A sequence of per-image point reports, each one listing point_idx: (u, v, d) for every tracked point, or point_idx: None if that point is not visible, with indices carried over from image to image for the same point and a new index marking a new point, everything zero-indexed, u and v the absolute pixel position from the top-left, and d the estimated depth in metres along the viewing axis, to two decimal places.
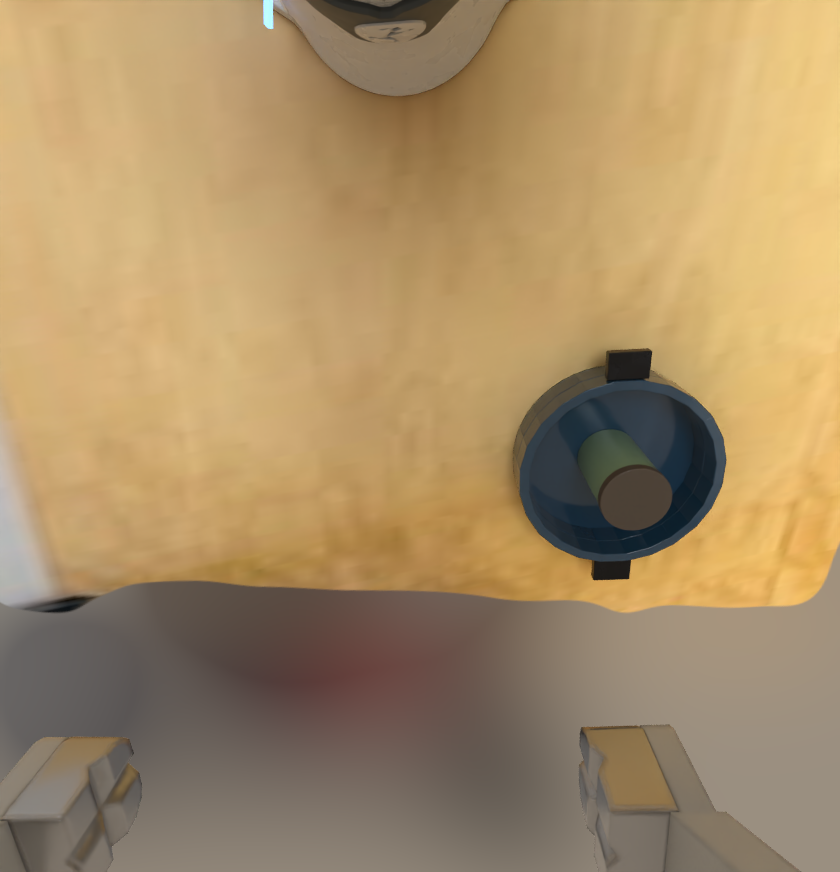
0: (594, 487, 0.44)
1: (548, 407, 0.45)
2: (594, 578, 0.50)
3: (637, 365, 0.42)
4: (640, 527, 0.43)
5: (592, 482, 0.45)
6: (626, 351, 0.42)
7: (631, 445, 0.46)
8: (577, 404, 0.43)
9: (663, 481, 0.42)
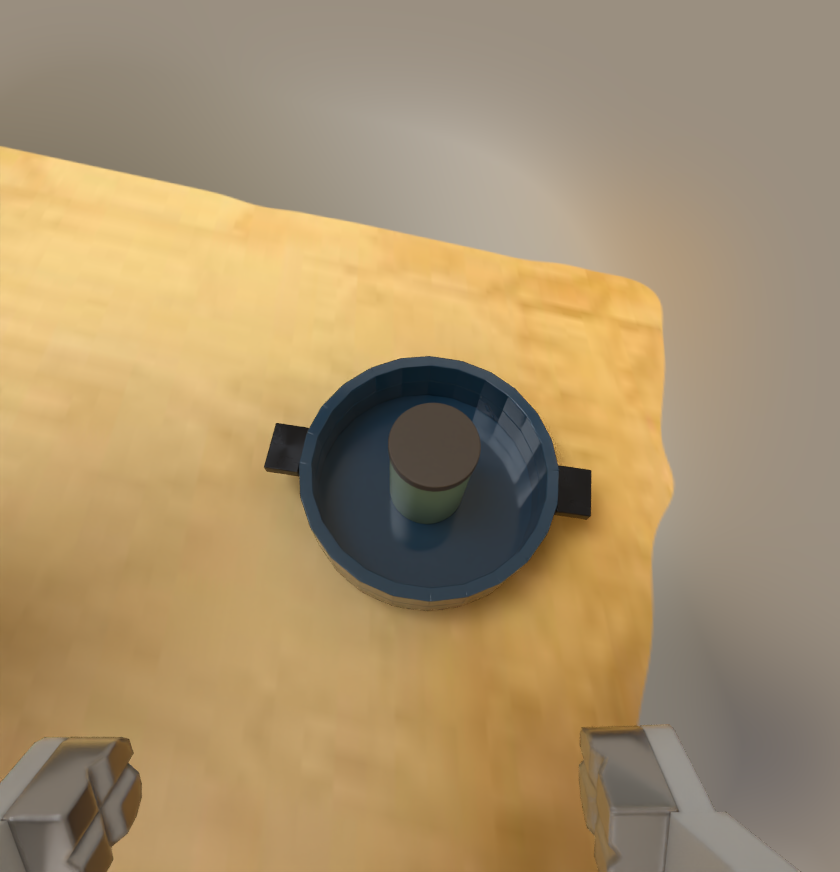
0: (423, 496, 0.33)
1: (322, 547, 0.35)
2: (587, 514, 0.35)
3: (288, 438, 0.36)
4: (477, 441, 0.32)
5: (422, 500, 0.34)
6: (269, 449, 0.36)
7: None
8: (315, 508, 0.34)
9: (413, 411, 0.33)
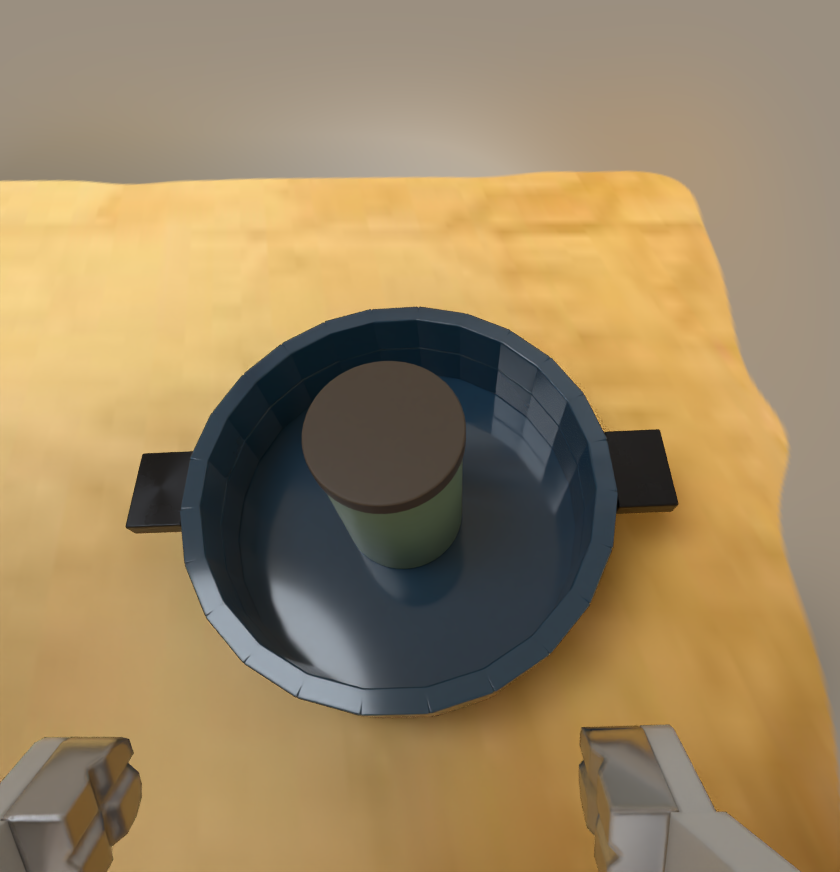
0: (384, 524, 0.19)
1: None
2: (672, 502, 0.21)
3: (162, 474, 0.22)
4: (456, 410, 0.18)
5: (387, 531, 0.19)
6: (135, 496, 0.22)
7: None
8: (211, 581, 0.20)
9: (338, 382, 0.19)
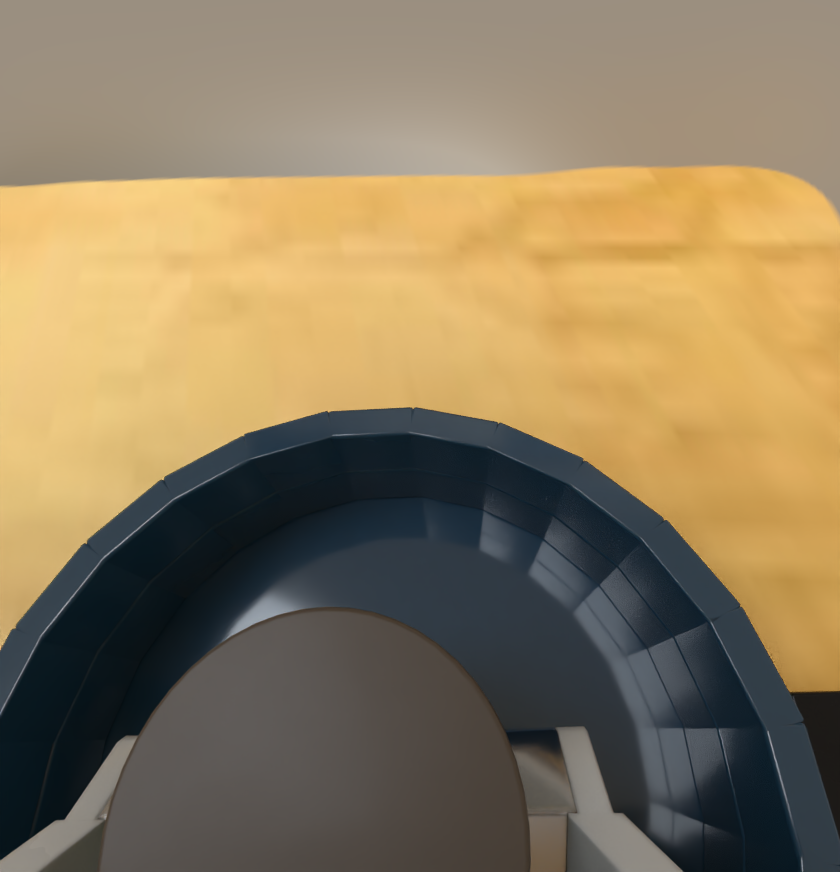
0: None
1: None
2: None
3: None
4: (503, 775, 0.07)
5: None
6: None
7: None
8: None
9: (212, 670, 0.08)
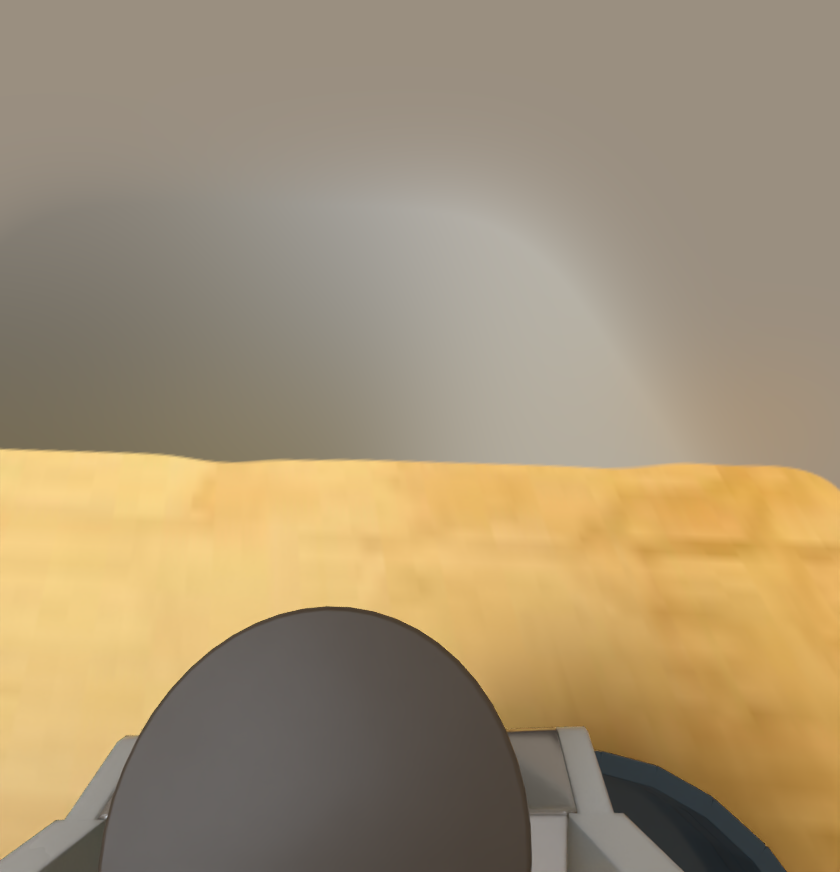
0: None
1: None
2: None
3: None
4: (505, 775, 0.07)
5: None
6: None
7: None
8: None
9: (212, 669, 0.08)
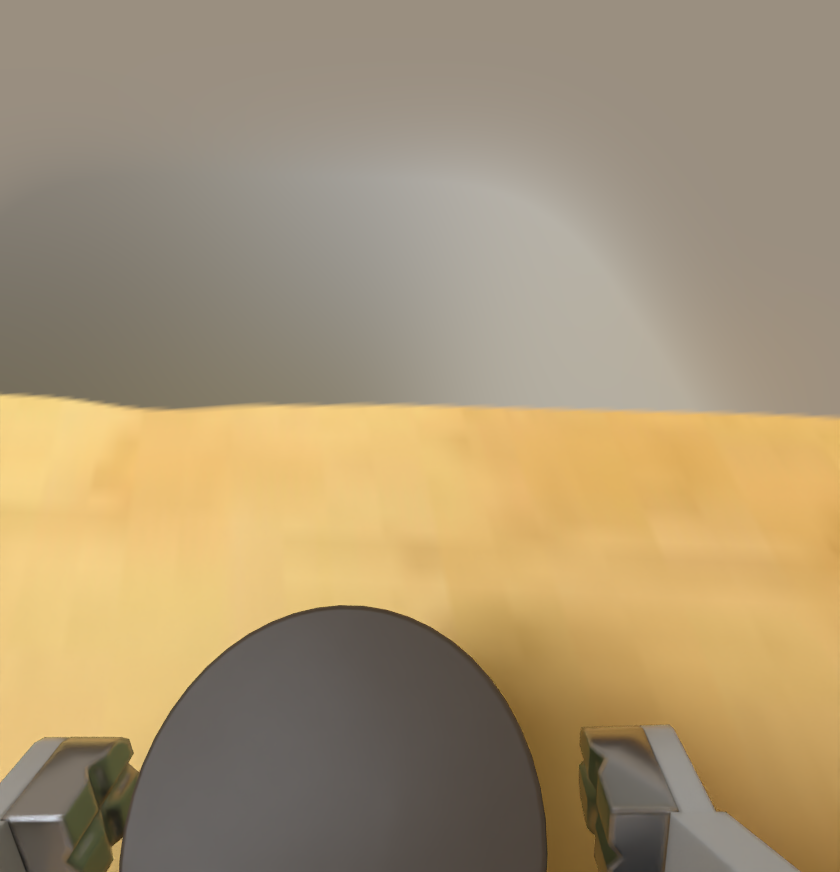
0: None
1: None
2: None
3: None
4: (519, 770, 0.07)
5: None
6: None
7: None
8: None
9: (229, 668, 0.08)
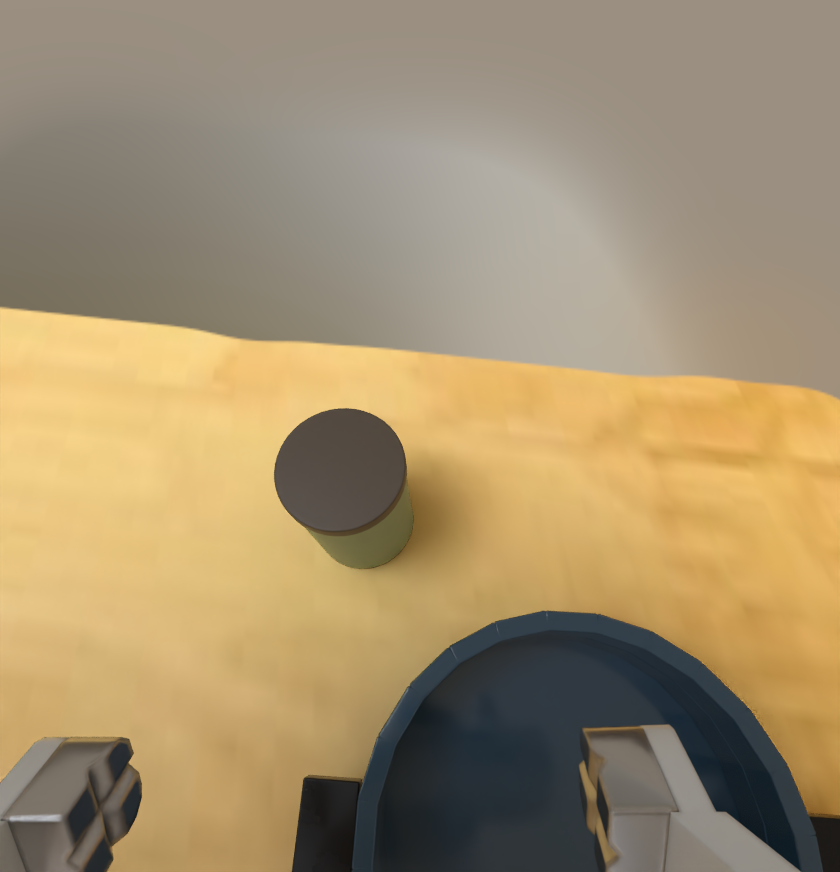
0: (336, 541, 0.23)
1: None
2: None
3: (327, 810, 0.21)
4: (399, 456, 0.23)
5: (339, 545, 0.24)
6: (297, 832, 0.21)
7: None
8: None
9: (308, 424, 0.23)
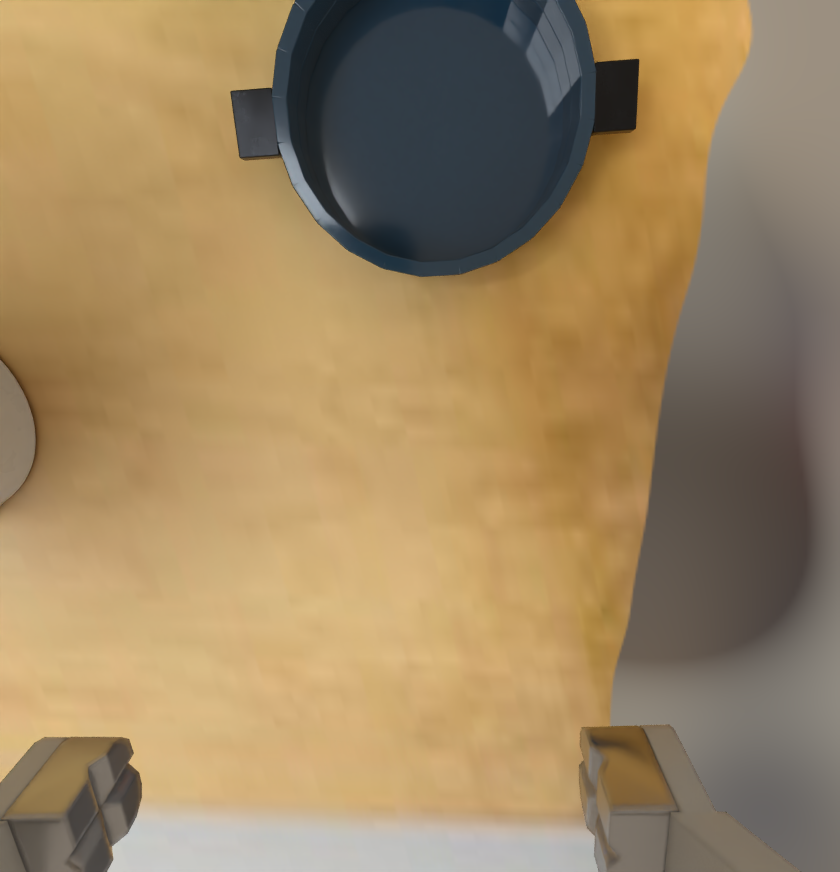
0: None
1: None
2: (632, 127, 0.29)
3: (253, 110, 0.29)
4: None
5: None
6: (236, 130, 0.30)
7: None
8: (314, 198, 0.30)
9: None
